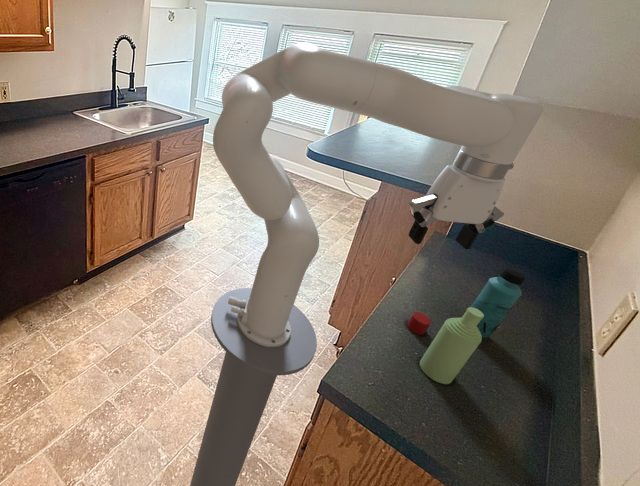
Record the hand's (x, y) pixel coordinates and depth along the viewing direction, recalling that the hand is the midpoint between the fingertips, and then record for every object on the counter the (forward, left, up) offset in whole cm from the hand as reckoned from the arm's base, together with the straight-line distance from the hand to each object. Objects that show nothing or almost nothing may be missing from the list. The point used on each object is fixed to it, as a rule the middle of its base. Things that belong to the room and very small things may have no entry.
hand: (437, 242), depth 76 cm
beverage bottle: (+23, +16, -31) cm, 41 cm away
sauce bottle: (+11, -2, -30) cm, 32 cm away
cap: (+9, +10, -30) cm, 33 cm away
